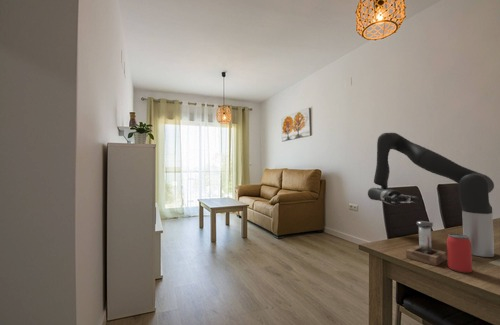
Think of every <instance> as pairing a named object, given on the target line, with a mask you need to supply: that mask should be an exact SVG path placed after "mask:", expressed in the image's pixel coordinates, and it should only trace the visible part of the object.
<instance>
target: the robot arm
mask: <svg viewBox="0 0 500 325" xmlns="http://www.w3.org/2000/svg"><path fill="white" fill-rule="evenodd" d="M376 143H377V144H376V168H375V173H374V177H373V183H374V184H375V185H377V186H380V188H379V187H371V188H369V189H368V190H367V197H368V198H369V199H370V200H372V201H378V202H379V201H380V202H383V203H385V204H388V205H390V206H391V205H392V206H394V207H395V206H399V205H401V204H406V203H407V204H410V203H413V204H419V203H420V198H419V196H415V195H406V194H403V193H402V192H401V191H399V190H395V189H389V188H388V183H389V178H390V165H389V154H390V151H391V150H394V151H397V152H398V153H401V154H403V155H404V156H406V157H407V158H408V159H409V160H410V162H412V163H413V164H414V165H416V166H417V167H419V168H421V169H423V170H425V171H428V172H429V173H432V174H435V175H438V176H441V177H442V178H443V177H444V178H447V179H449V180H452V181H454V182H455V183H456V184H458V196H459V203H460V205H461V206H460V207H461V213H462V214H461V215H462V235H466V236H468V237H469V239H470V241H471V249H472V256H473V255H474V256H477V257H485V258H491V257H492V258H493V257H494V256H495V242H494V240H495V239H494V220H493V219H494V218H493V207H492V205H491V204H490V199H489V198H490V197H489V194H490V193H492V192H493V190H494V189H495V184H494V181H493V179H491V177H489V176H488V175H487V174H483V173H481V172H478V171H475V170H473V169H470V168H467V167H464V166H462V165H460V164H458V163H456V162H454V161H452V160H451V159H449V158H447V157H446V156H444V155H442V154H440V153H438V152H435V151H434V150H431V149H429V148H426V147H424V146H422V145H419V144H417V143H414V142H412V141H410V140H409V139H407V138H405V137H404V136H402V135H401V134H399V133H396V132H382V133H381V134H380V135H379V136H378V137H377V142H376Z"/></svg>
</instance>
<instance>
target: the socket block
mask: <svg viewBox="0 0 500 325" xmlns="http://www.w3.org/2000/svg"><path fill="white" fill-rule="evenodd" d="M405 254H406V257H405V258H406V259H409V260H412V261H413V260H414V261H417V262H421V263H424V264H428V265H430V266H435V267H437V266H439V265H440V264H442V263H444V262H445V261H446V260H447V251H443V250H440V249H439V250H438V249H435V248H434V249H433V248H432V255H430V254H426V253H421V252H419V245H415V246H413V247H411V248H409V249H406V250H405Z"/></svg>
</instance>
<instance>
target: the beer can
mask: <svg viewBox="0 0 500 325" xmlns="http://www.w3.org/2000/svg"><path fill="white" fill-rule="evenodd" d="M447 236H448V237H447V239H446V260H447V267H448V268H449V269H450V270H451V271H455V272H458V273H463V274H468V273H471V272H473V255H472V249H471V241H470V239H469V237H468V236H466V235H463V233H462V234H461V233H448V235H447Z"/></svg>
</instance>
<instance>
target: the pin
mask: <svg viewBox="0 0 500 325" xmlns="http://www.w3.org/2000/svg"><path fill="white" fill-rule="evenodd" d="M433 224H434V223H433V222H431V221H426V220H425V221H424V220H417V221H416V225H417V226H418V244H419V245H418V246H419V252H421V253H426V254H430V255H432V249H433V248H432V247H433V246H432V244H433V243H432V227H433V226H434V225H433Z"/></svg>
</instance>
